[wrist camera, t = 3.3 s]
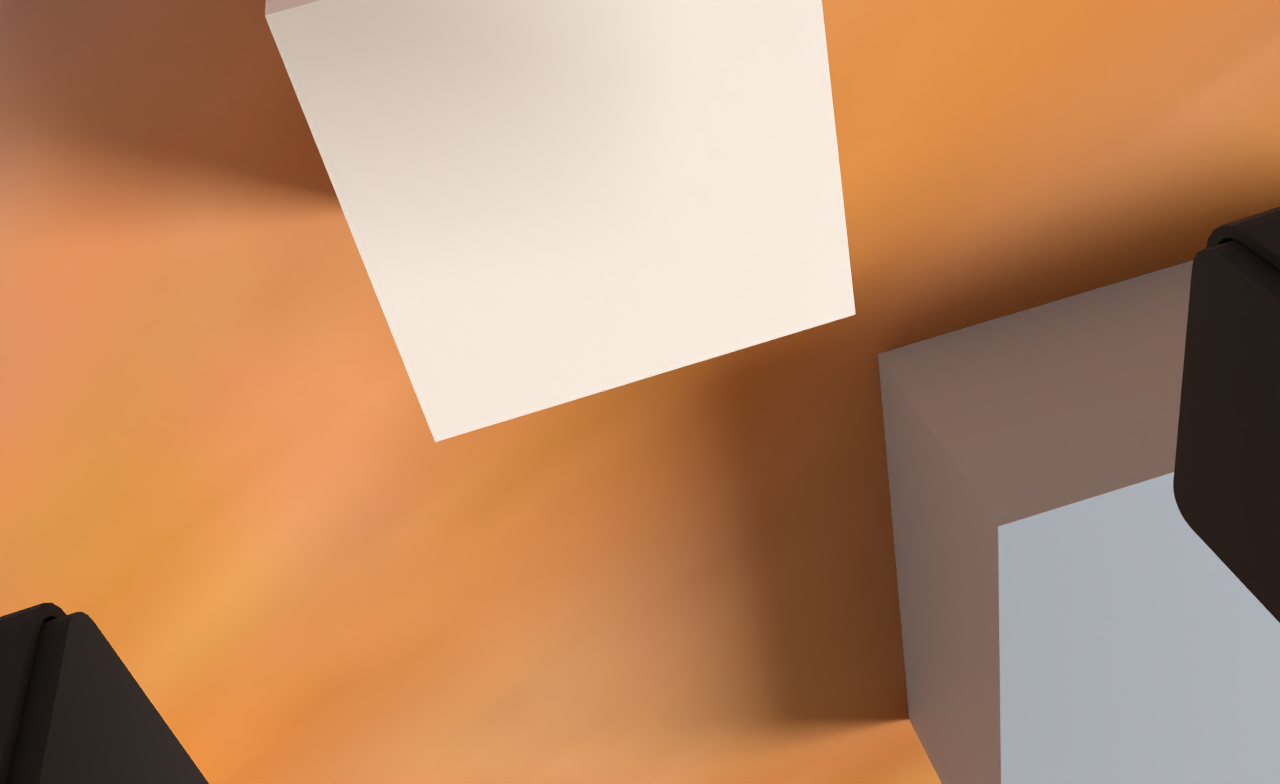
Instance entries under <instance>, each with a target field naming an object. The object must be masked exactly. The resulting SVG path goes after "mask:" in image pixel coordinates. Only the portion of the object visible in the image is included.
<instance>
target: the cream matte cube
mask: <svg viewBox="0 0 1280 784" xmlns="http://www.w3.org/2000/svg"><path fill="white" fill-rule="evenodd" d="M265 18H266V20H267V23H268V25H269V27H270V30H271V32H272V35H273V37H274V40H275V42H276V45H277V47H278V50H279V52H280V55H281V57H282V60H283V62H284V65H285V67H286V70H287V72H288V75H289V77H290V80H291V82H292V85H293V87H294V90H295V92H296V95H297V97H298V100H299V102H300V105H301V107H302V110H303V112H304V115H305V117H306V120H307V122H308V125H309V127H310V130H311V132H312V135H313V137H314V140H315V142H316V145H317V147H318V150H319V152H320V155H321V157H322V160H323V162H324V165H325V167H326V170H327V172H328V175H329V177H330V180H331V182H332V185H333V187H334V190H335V192H336V195H337V197H338V200H339V202H340V205H341V207H342V210H343V212H344V215H345V217H346V220H347V222H348V225H349V227H350V230H351V232H352V235H353V237H354V240H355V242H356V245H357V247H358V250H359V252H360V255H361V257H362V260H363V262H364V265H365V267H366V270H367V272H368V275H369V277H370V280H371V282H372V285H373V287H374V290H375V292H376V295H377V297H378V300H379V302H380V305H381V307H382V310H383V312H384V315H385V317H386V320H387V322H388V325H389V327H390V330H391V332H392V335H393V337H394V340H395V342H396V345H397V347H398V350H399V352H400V355H401V357H402V360H403V362H404V365H405V367H406V370H407V372H408V375H409V377H410V380H411V382H412V385H413V387H414V390H415V392H416V395H417V397H418V400H419V402H420V405H421V407H422V410H423V412H424V415H425V417H426V420H427V422H428V425H429V427H430V430H431V432H432V435H433V437H434V440H435V442H437V441H440V440H444V439H447V438H450V437H454V436H457V435H460V434H463V433H467V432H470V431H473V430H477V429H480V428H483V427H487V426H490V425H493V424H496V423H500V422H503V421H506V420H510V419H513V418H516V417H519V416H523V415H526V414H529V413H533V412H536V411H539V410H543V409H546V408H549V407H552V406H556V405H559V404H562V403H566V402H569V401H572V400H576V399H579V398H582V397H585V396H589V395H592V394H595V393H599V392H602V391H605V390H608V389H612V388H615V387H618V386H622V385H625V384H628V383H632V382H635V381H638V380H641V379H645V378H648V377H651V376H655V375H658V374H661V373H664V372H668V371H671V370H674V369H678V368H681V367H684V366H688V365H691V364H694V363H697V362H701V361H704V360H707V359H711V358H714V357H717V356H720V355H724V354H727V353H730V352H734V351H737V350H740V349H744V348H747V347H750V346H753V345H757V344H760V343H763V342H767V341H770V340H773V339H776V338H780V337H783V336H786V335H790V334H793V333H796V332H800V331H803V330H806V329H809V328H813V327H816V326H819V325H823V324H826V323H829V322H832V321H836V320H839V319H842V318H846V317H849V316H852V315H856V314H855V305H854V295H853V286H852V277H851V268H850V258H849V249H848V240H847V231H846V221H845V212H844V203H843V194H842V184H841V175H840V166H839V157H838V147H837V138H836V129H835V120H834V110H833V101H832V92H831V83H830V73H829V64H828V55H827V45H826V36H825V27H824V18H823V8H822V0H266V5H265Z"/></svg>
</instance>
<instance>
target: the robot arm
mask: <svg viewBox="0 0 1280 784" xmlns="http://www.w3.org/2000/svg"><path fill="white" fill-rule="evenodd" d="M1173 492H1174V496H1175V501H1176V503H1177V506H1178V508H1179V511H1180V513H1181V515H1182V516H1183V518H1184V520H1185V521H1186V522H1187V524H1188V525H1189V526H1190V528H1191V529H1192V530H1193V531H1194V532H1195V533H1196V534H1197V535H1198V536H1199V537H1200V538H1201V539H1202V540H1203V542H1204V543H1205V544H1206V545H1207V546H1208V547H1209V548H1210V549H1211V550H1212V551H1213V552H1214V553H1215V554H1216V555H1217V557H1218V558H1219V559H1220V560H1221V561H1222V562H1223V563H1224V564H1225V565H1226V566H1227V567H1228V568H1229V569H1230V570H1231V571H1232V573H1233V574H1234V575H1235V576H1236V577H1237V578H1238V579H1239V580H1240V581H1241V582H1242V583H1243V584H1244V585H1245V586H1246V588H1247V589H1248V590H1249V591H1250V592H1251V593H1252V594H1253V595H1254V596H1255V597H1256V598H1257V599H1258V600H1259V601H1260V603H1261V604H1262V605H1263V606H1264V607H1265V608H1266V609H1267V610H1268V611H1269V612H1270V613H1271V614H1272V615H1273V616H1274V618H1275V619H1276V620H1277V621H1278V622H1279V623H1280V207H1278V208H1275V209H1272V210H1269V211H1265V212H1262V213H1259V214H1256V215H1253V216H1250V217H1247V218H1244V219H1240V220H1237V221H1234V222H1231V223H1228V224H1225V225H1222V226H1220V227H1218V228H1217V229H1215V230H1214V231H1213V232H1212V234H1211V235H1210V237H1209V238H1208V242H1207V247H1206V249H1204V250H1202V251H1200V252H1198V253H1197V255H1196V257H1195V258H1194V261H1193V265H1192V273H1191V284H1190V296H1189V307H1188V319H1187V330H1186V342H1185V353H1184V365H1183V376H1182V388H1181V399H1180V411H1179V422H1178V434H1177V445H1176V457H1175V468H1174V480H1173ZM0 784H209V783H208V782H207V780H206V779H205V778H204V776H203V775H202V773H201V772H200V771H199V769H198V768H197V766H196V765H195V764H194V762H193V761H192V759H191V758H190V756H189V755H188V754H187V752H186V751H185V749H184V748H183V747H182V745H181V744H180V742H179V741H178V740H177V738H176V737H175V735H174V734H173V733H172V731H171V730H170V728H169V727H168V725H167V724H166V723H165V721H164V720H163V718H162V717H161V716H160V714H159V713H158V711H157V710H156V709H155V707H154V706H153V704H152V703H151V702H150V700H149V699H148V697H147V696H146V695H145V693H144V692H143V690H142V689H141V687H140V686H139V685H138V683H137V682H136V680H135V679H134V678H133V676H132V675H131V673H130V672H129V671H128V669H127V668H126V666H125V665H124V664H123V662H122V661H121V659H120V658H119V656H118V655H117V654H116V652H115V651H114V649H113V648H112V647H111V645H110V644H109V642H108V641H107V640H106V638H105V637H104V635H103V634H102V633H101V631H100V630H99V628H98V627H97V625H96V624H95V623H94V621H93V620H92V619H91V618H90V617H89V616H88V615H87V614H85V613H83V612H76V613H72V614H69V615H66V614H65V613H64V612H63V610H62V609H61V608H60V607H58V606H56V605H54V604H53V603H42V604H39V605H36V606H33V607H30V608H27V609H24V610H20V611H17V612H14V613H11V614H8V615H5V616H2V617H0Z"/></svg>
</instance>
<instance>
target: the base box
mask: <svg viewBox="0 0 1280 784" xmlns="http://www.w3.org/2000/svg"><path fill="white" fill-rule="evenodd" d="M1193 261H1194V260H1192V261H1188V262H1185V263H1182V264H1178V265H1175V266H1171V267H1168V268H1165V269H1161V270H1158V271H1155V272H1151V273H1148V274H1144V275H1141V276H1138V277H1134V278H1131V279H1128V280H1124V281H1121V282H1118V283H1114V284H1111V285H1107V286H1104V287H1101V288H1097V289H1094V290H1091V291H1087V292H1084V293H1081V294H1077V295H1074V296H1070V297H1067V298H1064V299H1060V300H1057V301H1054V302H1050V303H1047V304H1044V305H1040V306H1037V307H1033V308H1030V309H1027V310H1023V311H1020V312H1017V313H1013V314H1010V315H1007V316H1003V317H1000V318H996V319H993V320H990V321H986V322H983V323H980V324H976V325H973V326H970V327H966V328H963V329H959V330H956V331H953V332H949V333H946V334H943V335H939V336H936V337H933V338H929V339H926V340H922V341H919V342H916V343H912V344H909V345H906V346H902V347H899V348H896V349H892V350H889V351H885V352H882V353H879V354H878V362H879V374H880V385H881V397H882V408H883V420H884V432H885V443H886V455H887V466H888V478H889V490H890V501H891V513H892V525H893V536H894V548H895V559H896V571H897V583H898V594H899V606H900V618H901V629H902V641H903V652H904V664H905V676H906V687H907V699H908V710H909V720H910V722H911V724H912V726H913V728H914V730H915V731H916V733H917V735H918V737H919V739H920V741H921V743H922V745H923V747H924V749H925V751H926V753H927V755H928V757H929V759H930V761H931V763H932V765H933V767H934V769H935V771H936V773H937V775H938V777H939V779H940V781H941V782H942V784H1280V623H1279V622H1278V621H1277V620H1276V619H1275V618H1274V616H1273V615H1272V614H1271V613H1270V612H1269V611H1268V610H1267V609H1266V608H1265V607H1264V606H1263V605H1262V604H1261V603H1260V601H1259V600H1258V599H1257V598H1256V597H1255V596H1254V595H1253V594H1252V593H1251V592H1250V591H1249V590H1248V589H1247V588H1246V586H1245V585H1244V584H1243V583H1242V582H1241V581H1240V580H1239V579H1238V578H1237V577H1236V576H1235V575H1234V574H1233V573H1232V571H1231V570H1230V569H1229V568H1228V567H1227V566H1226V565H1225V564H1224V563H1223V562H1222V561H1221V560H1220V559H1219V558H1218V557H1217V555H1216V554H1215V553H1214V552H1213V551H1212V550H1211V549H1210V548H1209V547H1208V546H1207V545H1206V544H1205V543H1204V542H1203V540H1202V539H1201V538H1200V537H1199V536H1198V535H1197V534H1196V533H1195V532H1194V531H1193V530H1192V529H1191V528H1190V526H1189V525H1188V524H1187V522H1186V521H1185V520H1184V518H1183V516H1182V515H1181V513H1180V511H1179V508H1178V506H1177V503H1176V501H1175V496H1174V492H1173V480H1174V468H1175V457H1176V445H1177V434H1178V422H1179V411H1180V399H1181V388H1182V376H1183V365H1184V353H1185V342H1186V330H1187V319H1188V307H1189V296H1190V284H1191V273H1192V265H1193Z"/></svg>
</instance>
